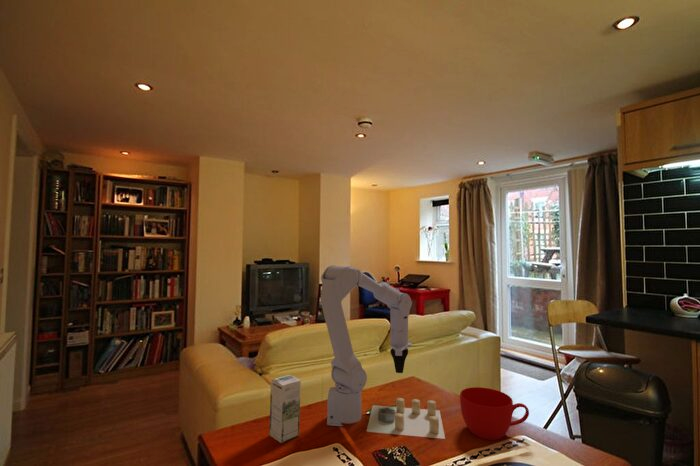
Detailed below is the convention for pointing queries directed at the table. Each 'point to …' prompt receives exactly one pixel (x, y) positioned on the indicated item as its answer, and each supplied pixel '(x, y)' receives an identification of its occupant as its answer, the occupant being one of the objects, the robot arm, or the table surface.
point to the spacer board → (409, 420)
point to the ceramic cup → (488, 412)
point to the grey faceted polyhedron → (386, 415)
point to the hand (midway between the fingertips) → (399, 372)
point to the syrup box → (284, 408)
